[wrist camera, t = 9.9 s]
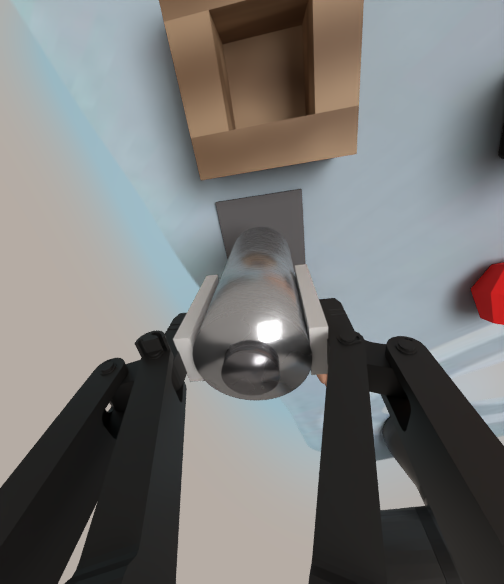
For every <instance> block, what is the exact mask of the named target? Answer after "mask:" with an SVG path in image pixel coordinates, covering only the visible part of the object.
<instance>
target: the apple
mask: <svg viewBox="0 0 504 584" xmlns="http://www.w3.org/2000/svg"><path fill="white" fill-rule="evenodd" d="M471 292H472V295H473V298H474V301H475V304H476V307H477V310H478V313H479V315H480V318H482V319H484V320H487V321H489V322H492V323H496V324H502V325H504V262H503V263H497V264H492V265H491V266H490V267H489V268H488V269H487V270H486V272H485V273H484V274H483V275H482V276H481V277H480V278H479V280H478V281H477V282H476V283H475V284H474V285H473V286H472V288H471Z"/></svg>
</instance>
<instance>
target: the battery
mask: <svg viewBox="0 0 504 584" xmlns="http://www.w3.org/2000/svg"><path fill="white" fill-rule="evenodd" d="M499 157H500V158H502V159H504V125H503V131H502V137H501V143H500V149H499Z"/></svg>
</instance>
